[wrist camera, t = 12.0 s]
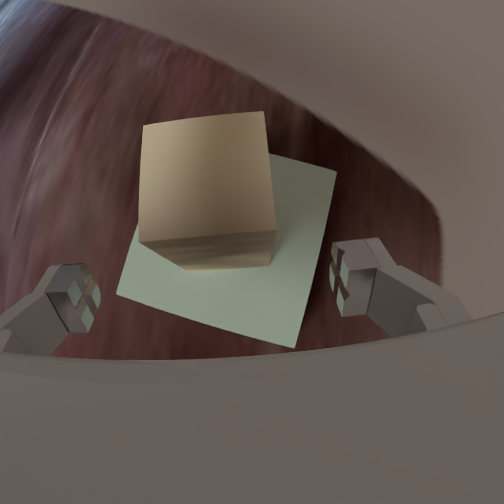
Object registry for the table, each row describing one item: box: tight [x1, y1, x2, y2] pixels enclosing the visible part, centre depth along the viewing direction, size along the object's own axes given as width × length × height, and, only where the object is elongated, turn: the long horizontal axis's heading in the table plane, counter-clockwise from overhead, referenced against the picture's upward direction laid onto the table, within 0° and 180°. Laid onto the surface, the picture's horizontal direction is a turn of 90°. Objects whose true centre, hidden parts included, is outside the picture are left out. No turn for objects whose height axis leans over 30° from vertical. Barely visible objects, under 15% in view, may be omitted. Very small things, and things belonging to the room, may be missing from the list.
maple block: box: [139, 111, 277, 272], centre depth 16 cm, size 5×5×9 cm
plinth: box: [116, 154, 337, 348], centre depth 23 cm, size 12×12×4 cm
